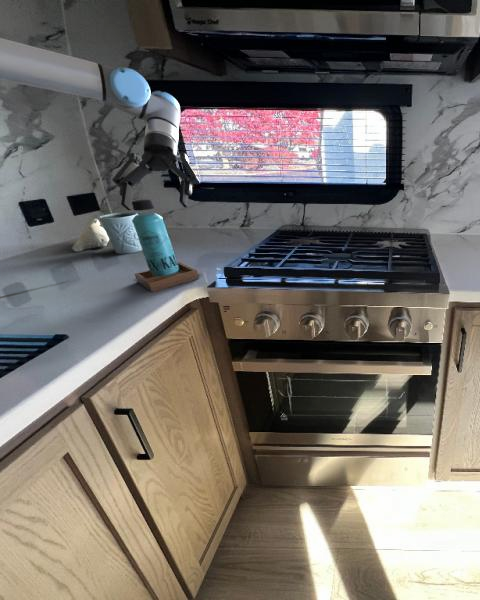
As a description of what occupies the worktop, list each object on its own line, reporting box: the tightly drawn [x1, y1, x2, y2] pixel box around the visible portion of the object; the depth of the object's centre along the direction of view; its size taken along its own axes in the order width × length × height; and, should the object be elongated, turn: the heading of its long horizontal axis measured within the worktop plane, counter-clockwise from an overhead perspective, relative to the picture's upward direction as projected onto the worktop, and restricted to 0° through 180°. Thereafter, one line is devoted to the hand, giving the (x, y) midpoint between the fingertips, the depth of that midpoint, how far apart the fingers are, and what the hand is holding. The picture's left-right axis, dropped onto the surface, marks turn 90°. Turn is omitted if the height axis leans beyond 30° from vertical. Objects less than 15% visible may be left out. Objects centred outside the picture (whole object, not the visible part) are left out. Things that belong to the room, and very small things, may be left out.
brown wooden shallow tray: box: [134, 262, 200, 293], centre depth 88 cm, size 11×11×2 cm
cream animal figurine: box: [71, 218, 110, 253], centre depth 118 cm, size 15×7×15 cm
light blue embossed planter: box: [99, 211, 142, 255], centre depth 112 cm, size 10×10×12 cm
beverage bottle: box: [132, 199, 179, 276], centre depth 84 cm, size 6×7×20 cm
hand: (155, 206), depth 86 cm, fingers open, 13 cm apart
